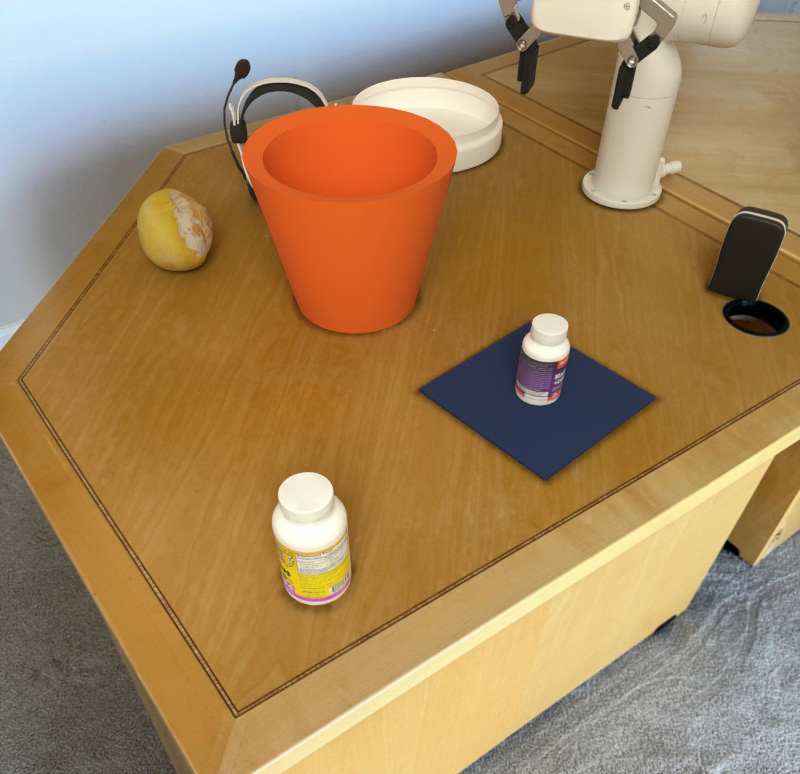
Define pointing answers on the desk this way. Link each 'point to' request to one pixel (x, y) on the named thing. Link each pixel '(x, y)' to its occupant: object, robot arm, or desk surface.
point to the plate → (446, 112)
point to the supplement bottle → (312, 539)
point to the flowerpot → (352, 207)
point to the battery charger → (748, 253)
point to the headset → (262, 87)
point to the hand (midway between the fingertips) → (571, 96)
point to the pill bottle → (543, 360)
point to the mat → (536, 424)
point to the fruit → (174, 230)
